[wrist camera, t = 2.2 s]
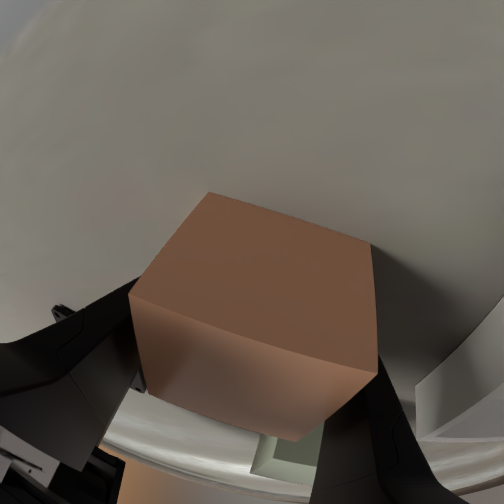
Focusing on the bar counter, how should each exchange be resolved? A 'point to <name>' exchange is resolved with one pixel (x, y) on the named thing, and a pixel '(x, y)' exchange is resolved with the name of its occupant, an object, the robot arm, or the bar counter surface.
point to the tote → (466, 389)
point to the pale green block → (288, 457)
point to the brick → (257, 318)
